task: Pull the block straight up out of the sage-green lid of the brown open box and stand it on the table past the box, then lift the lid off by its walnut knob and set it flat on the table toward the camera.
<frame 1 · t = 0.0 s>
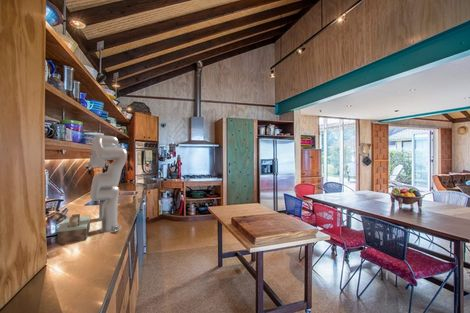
hand: (96, 174, 186), 37 cm above the worktop, tool pointing down, fingers open, 9 cm apart
coffee box: (104, 219, 192), on the worktop
lid: (75, 224, 150), point 8 cm above the worktop, touching brown open box
brown open box: (75, 236, 150), on the worktop
block: (73, 239, 143), point 1 cm above the worktop, touching brown open box
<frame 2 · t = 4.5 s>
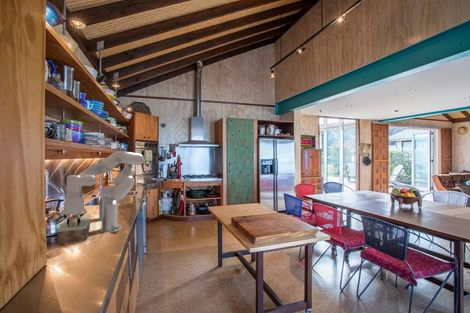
hand: (73, 224, 143), 10 cm above the worktop, tool pointing down, fingers closed on block, 4 cm apart
block: (73, 239, 143), point 1 cm above the worktop, touching gripper, brown open box
everything else where it was.
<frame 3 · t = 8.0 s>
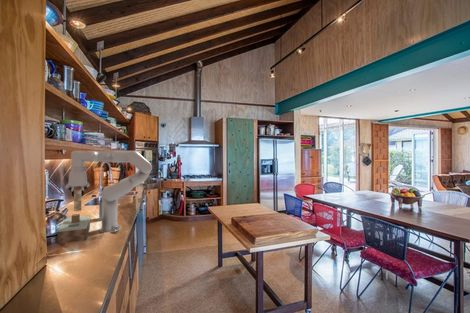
hand: (77, 196, 155), 25 cm above the worktop, tool pointing down, fingers closed on block, 4 cm apart
block: (77, 210, 155), point 16 cm above the worktop, touching gripper
everything else where it was.
when the fingers open (11 cm above the worktop, at t = 11.9 s): block drops 1 cm, on the worktop.
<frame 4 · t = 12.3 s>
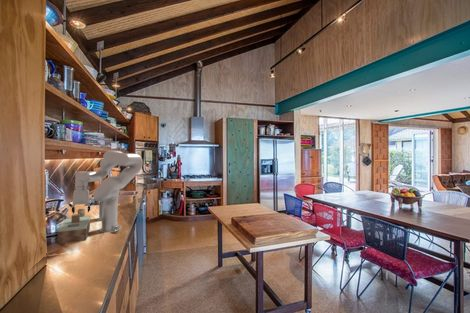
hand: (81, 212, 167), 11 cm above the worktop, tool pointing down, fingers open, 8 cm apart
block: (81, 228, 167), on the worktop
everything else where it was.
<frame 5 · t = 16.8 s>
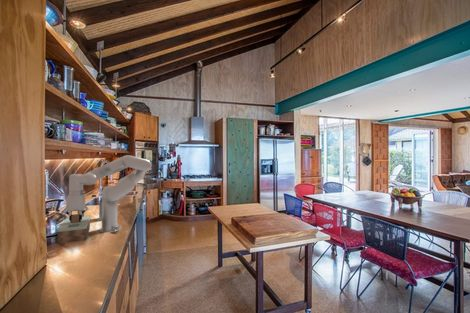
hand: (75, 220, 150), 10 cm above the worktop, tool pointing down, fingers closed on lid, 4 cm apart
lid: (75, 224, 150), point 8 cm above the worktop, touching gripper, brown open box
everything else where it was.
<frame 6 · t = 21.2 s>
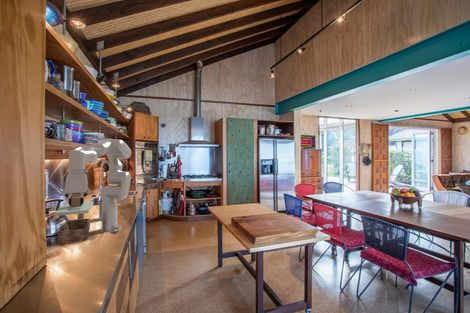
hand: (76, 205, 127), 26 cm above the worktop, tool pointing down, fingers closed on lid, 4 cm apart
lid: (75, 209, 127), point 24 cm above the worktop, touching gripper
everything else where it was.
when the fingers open (3 cm above the worktop, at t = 26.1 s): lid drops 1 cm, on the worktop.
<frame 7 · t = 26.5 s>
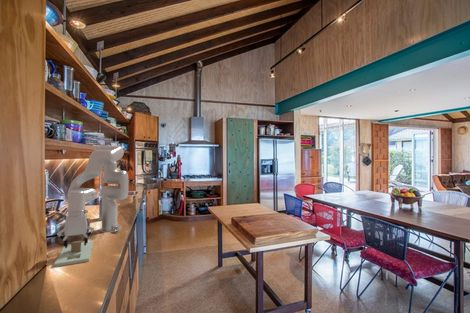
hand: (75, 245, 125), 4 cm above the worktop, tool pointing down, fingers open, 8 cm apart
lid: (75, 253, 124), on the worktop
everything else where it was.
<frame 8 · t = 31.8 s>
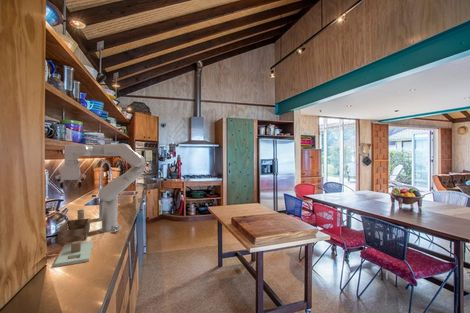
hand: (70, 188, 157), 30 cm above the worktop, tool pointing down, fingers open, 9 cm apart
nothing on the worktop moved.
at the end: lid on the worktop; lid tilted 0°; block inside the target area (0.2 cm from its centre), on the worktop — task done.
